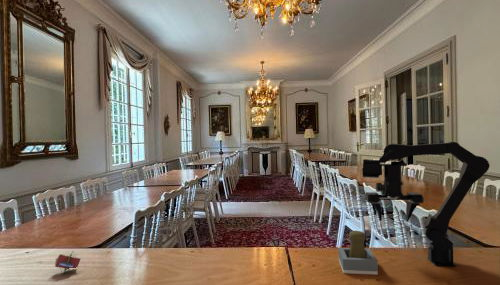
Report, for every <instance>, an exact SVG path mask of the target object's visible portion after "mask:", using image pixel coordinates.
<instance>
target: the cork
mask: <svg viewBox="0 0 500 285" xmlns="http://www.w3.org/2000/svg"><path fill="white" fill-rule="evenodd" d="M348 239H349V240H350V246H349V248H350V253H349V258H366V253H365V249H366V247H365V240H366V234H365V233H364V232H363V231H361V230H351V231H350V232H349V233H348Z"/></svg>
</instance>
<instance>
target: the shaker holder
mask: <svg viewBox="0 0 500 285" xmlns="http://www.w3.org/2000/svg"><path fill="white" fill-rule="evenodd" d="M349 253H350V247H338V261H339V265H340V267H341V270H342V273H343V274H354V275H355V274H356V275H379V273H378V272H379V270H378V269H379V268H378V267H379V266H378V265H379V263H378V262H379V261H378V259H377V258H376V255H375V254H374V253H373V252H372V250H371V248H365V253H366V258H349Z"/></svg>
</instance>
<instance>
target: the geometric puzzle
mask: <svg viewBox="0 0 500 285" xmlns="http://www.w3.org/2000/svg"><path fill="white" fill-rule="evenodd" d="M67 253H69V251H68V252H66V254H67ZM66 254H63V253H62V254H60V253H59V255H58V256H57V258H56V259H55V262H54V267H55V268H57V269H58V268H59V270H61V269H64V270H65V269H66V270H68V271H71V270H70V269H69V268H76V267H77V268H78V266H79V264H80V262H81V258H79V257H77V256H76V255H77V254H76V252H74V251H71V253H70V254H69V255H66ZM73 254H74V255H73ZM75 254H76V255H75ZM61 271H62V270H61Z"/></svg>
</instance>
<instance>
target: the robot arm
mask: <svg viewBox="0 0 500 285" xmlns="http://www.w3.org/2000/svg"><path fill="white" fill-rule="evenodd" d="M445 154H449V155H452V156H453V157H454V158H456V159H457V160H458V161H459V162H461V163H462V165H461V167H460V172H459V176H458V177H457V180H456V182H455V183H454V184H453V186H452V188H451V190H450V191H449V192H448V195H447V197H446V198H445V200H444V201H443V203H442V204H441V206H440V207H439V209H438V211H437V212H436V213H435V214H434V215H432V214H431V213H429V214H427V217H426V219H425V221H424V222H423V223H422V224H423V225H424V226H423V231H424V233H425V236H426V238H427V240H429V241H431V242H429V246H428V248H427V251H428V252H427V259H428V260H429V261H430V262H431V263H432V264H433V265H434V266H438V267H439V266H440V267H441V266H442V267H456V266H457V264H456V263H454V243H453V240H452V239H451V238H450V236H449V235H448V234H447V232H448V229H449V226H450V222H451V220H452V218H453V216H454V215H455V213H456V211H457V209H458V208H459V207H460V205H461V203H462V202H463V200H465V199H464V198H465V197H466V196H467V194H468V192H469V190H471V188H472V186H473V185H474V184H475V183H476V182H477V181H478V180H480V179H481V178H482V177H483V176H484V175H485V174H486V173H487V172H488V171H489V169H490V162H489V160H488V159H486V157H484V156H480V155H475V154H474V153H473V152H471V151H469V150H468V149H466V148H465V147H464V146H462V145H461V144H460V143H458V142H456V141H449V142H443V143H441V142H440V143H426V144H413V145H410V144H399V143H389V144H387V145H385V147H384V148H383V154H382V155H381V157H379V159H368V158H367V159H365V158H364V159H363V160H362V162H363V163H362V169H361V170H362V178H367V179H368V178H371V179H372V178H374V179H379V178H380V176H383V184H382V182H376V183H375V191H374V192H369V191H368V192H365V194H364V201H366V202H368V203H369V204H371V205H372V206H373V207H374V209H375V212H376V213H377V214H376V215H377V217H378V219H379V221H380V222H382V216H383V215H382V204H381V203H380V201H405V205H406V210H405V221H406V222H409V221H410V218H411V217H412V215H413V213H414V211H415V209H416V208H417V207H418V206H420V204H424V203H425V202H424V201H425V198H424V196H423V194H421V193H419V192H414V191H413V192H406V194H404V193H403V185H404V184H403V182H404V181H402V180H403V178H402V167H407V166H408V164H407V163H406V162H405V161H404V159H405V158H408V157H413V156H426V155H427V156H428V155H430V156H431V155H445ZM389 161H390V163H387V162H389ZM383 172H384V173H383ZM379 193H380V194H379Z"/></svg>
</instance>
